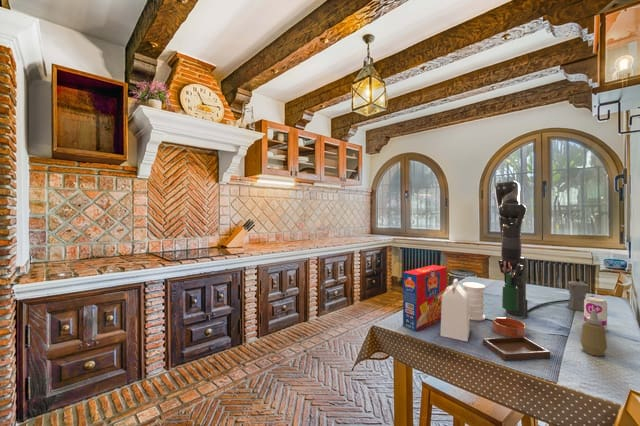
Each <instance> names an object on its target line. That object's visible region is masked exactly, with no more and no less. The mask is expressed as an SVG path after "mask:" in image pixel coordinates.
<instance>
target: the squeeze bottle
mask: <svg viewBox="0 0 640 426" xmlns="http://www.w3.org/2000/svg"><path fill="white" fill-rule="evenodd" d="M586 321H587V322H584V321H583V322H582V328H581V334H580V344H581V347H582V349H583V351H584V352H585V353H586V354H589V355H592V356H595V357H604V354H605V353H606V351H607V348H608V343H607V334H606V330H605V327H604V326H603V325H601V324H602V320H600V319H598V316H597V312H596V310H592V312H591V315H590V317H587V318H586Z"/></svg>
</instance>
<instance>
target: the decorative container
mask: <svg viewBox="0 0 640 426" xmlns="http://www.w3.org/2000/svg"><path fill="white" fill-rule="evenodd" d="M462 288H463V290H465V291H466V293H467V294H468V302H469V320H471V321H484V320H486V315H485V314H484V313H485V310H484V307H485V304H484V300H485V298H484V295H485V289H486V286H485V285H484V284H483V283H478V282H472V281H471V282H470V281H469V282H467V281H466V282H463V283H462Z"/></svg>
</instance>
